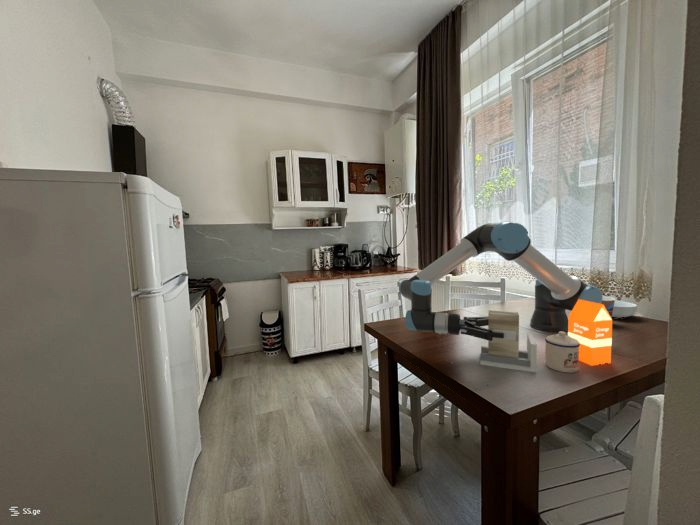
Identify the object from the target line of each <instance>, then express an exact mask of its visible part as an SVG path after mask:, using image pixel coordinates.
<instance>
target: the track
mask: <svg viewBox="0 0 700 525" xmlns="http://www.w3.org/2000/svg"><path fill="white" fill-rule="evenodd" d="M480 346H481V347H480V348H481V349H480V362H479V363H480V365H481V366H489V367H495V368H501V369H509V370H516V371H523V372H530V373H536V374H537V355H538V354H537V348H538V346H537V342H536V340H535V337H534V335H533V333H528V332H527V334H526V350H519V358H514V357H506V356H498V355H491V354H488V346H485V345H480Z"/></svg>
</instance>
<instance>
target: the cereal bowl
mask: <svg viewBox="0 0 700 525" xmlns="http://www.w3.org/2000/svg"><path fill="white" fill-rule="evenodd" d="M614 301H615V302H614V308H613V313H612V316H613V317H624V318H627V317H631V316H634V315H635V314H636V312H637V310H638V305H637V304H635V303H632V302H628V301H621V300H614Z"/></svg>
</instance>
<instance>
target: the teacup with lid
mask: <svg viewBox="0 0 700 525" xmlns="http://www.w3.org/2000/svg"><path fill="white" fill-rule="evenodd" d="M544 341H545V365H546V366H547V368H549V369H551V370H553V371H557V372H561V373H569V374H570V373H571V374H572V373H576V372H578V370H579V364H580V363H579V362H580V360H579V346H580V343H579V341H578V340H576V339H574V338H571V337H570V336H568V334H567V331H565V332H563V331H560V332H558V333H555V334H551V335H547V336H546V337H545V338H544Z"/></svg>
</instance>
